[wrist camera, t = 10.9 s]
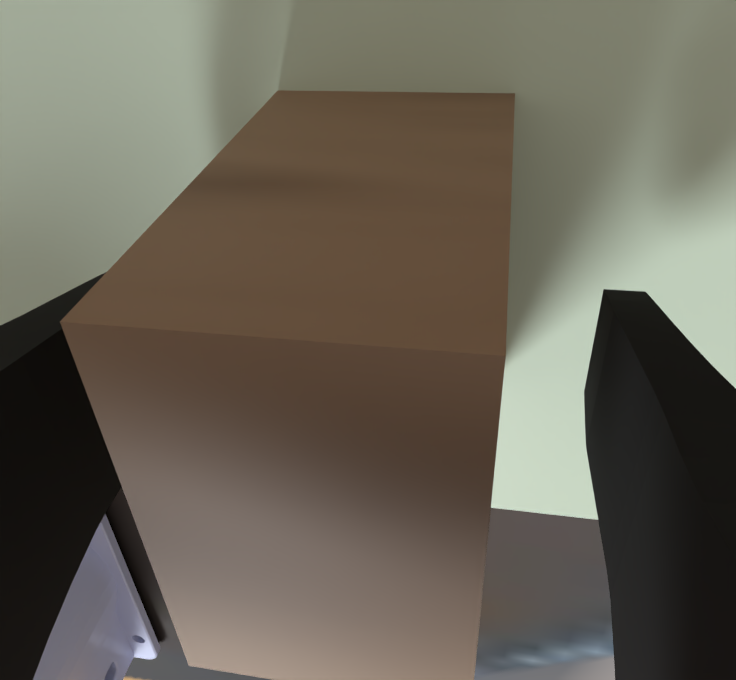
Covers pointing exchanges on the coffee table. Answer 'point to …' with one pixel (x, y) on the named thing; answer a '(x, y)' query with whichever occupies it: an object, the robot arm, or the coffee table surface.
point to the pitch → (404, 74)
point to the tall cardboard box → (317, 385)
